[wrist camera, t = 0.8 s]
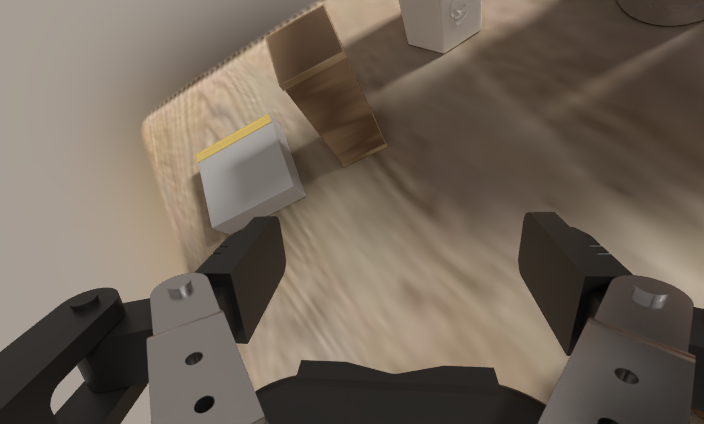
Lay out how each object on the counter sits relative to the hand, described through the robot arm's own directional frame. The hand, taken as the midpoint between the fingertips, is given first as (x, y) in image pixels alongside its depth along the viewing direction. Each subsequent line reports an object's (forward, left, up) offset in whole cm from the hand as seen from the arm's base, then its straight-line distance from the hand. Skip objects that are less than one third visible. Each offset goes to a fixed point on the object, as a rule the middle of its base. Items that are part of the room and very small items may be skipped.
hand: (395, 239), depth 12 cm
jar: (-29, -10, -21) cm, 37 cm away
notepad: (-5, -24, -21) cm, 32 cm away
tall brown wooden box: (-13, -14, -21) cm, 28 cm away
